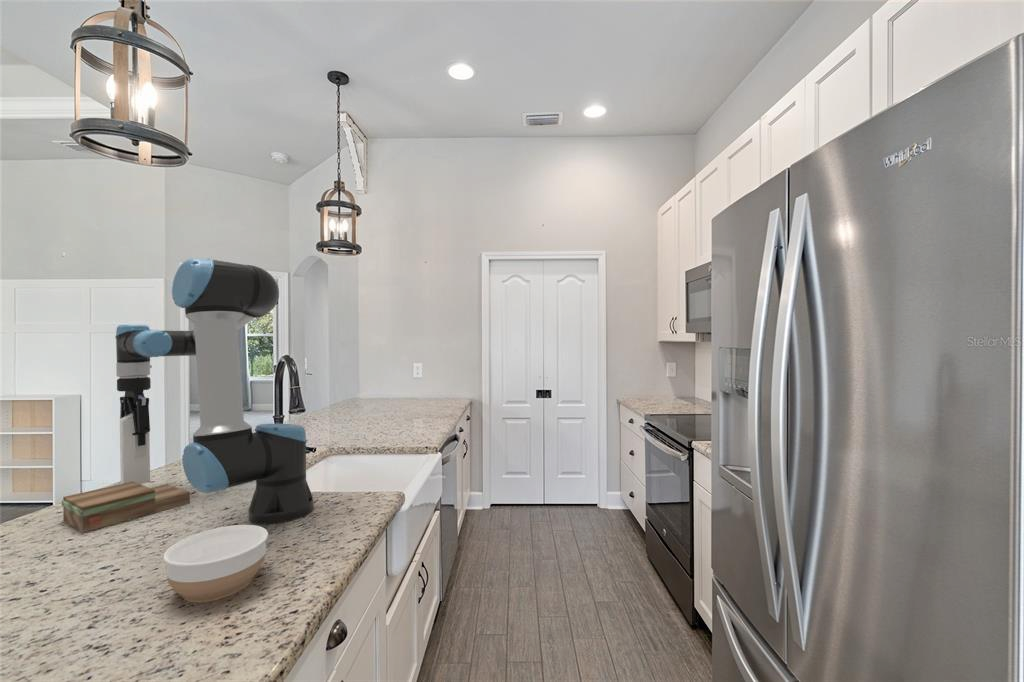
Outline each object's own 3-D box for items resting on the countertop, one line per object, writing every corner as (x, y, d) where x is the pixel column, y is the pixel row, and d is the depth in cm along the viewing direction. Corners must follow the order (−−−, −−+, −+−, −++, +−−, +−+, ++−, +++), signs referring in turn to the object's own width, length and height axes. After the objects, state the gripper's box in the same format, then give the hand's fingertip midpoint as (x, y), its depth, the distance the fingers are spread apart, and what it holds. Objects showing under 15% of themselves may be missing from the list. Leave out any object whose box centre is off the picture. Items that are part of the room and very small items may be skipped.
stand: (190, 503, 122) (190, 481, 122) (82, 533, 103) (81, 508, 103) (167, 494, 130) (167, 473, 130) (61, 521, 110) (61, 497, 110)
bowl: (265, 555, 92) (265, 518, 92) (271, 592, 78) (271, 548, 78) (169, 578, 83) (169, 536, 83) (157, 624, 70) (156, 574, 70)
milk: (123, 487, 125) (121, 410, 125) (120, 483, 129) (118, 408, 129) (150, 481, 129) (149, 407, 129) (147, 477, 133) (145, 405, 133)
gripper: (164, 376, 127) (165, 456, 127) (136, 375, 138) (137, 449, 137) (131, 378, 121) (132, 462, 121) (104, 377, 131) (105, 454, 131)
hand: (135, 455), depth 129 cm, fingers closed on milk, 7 cm apart
